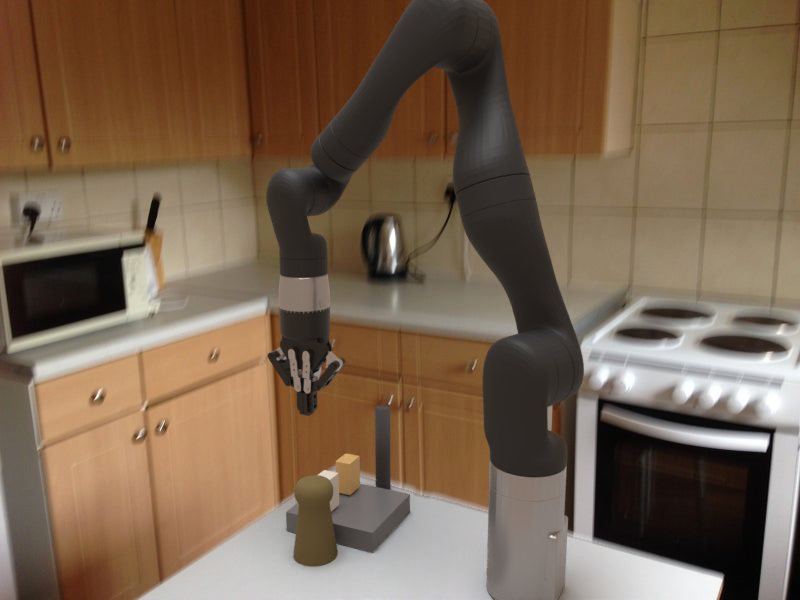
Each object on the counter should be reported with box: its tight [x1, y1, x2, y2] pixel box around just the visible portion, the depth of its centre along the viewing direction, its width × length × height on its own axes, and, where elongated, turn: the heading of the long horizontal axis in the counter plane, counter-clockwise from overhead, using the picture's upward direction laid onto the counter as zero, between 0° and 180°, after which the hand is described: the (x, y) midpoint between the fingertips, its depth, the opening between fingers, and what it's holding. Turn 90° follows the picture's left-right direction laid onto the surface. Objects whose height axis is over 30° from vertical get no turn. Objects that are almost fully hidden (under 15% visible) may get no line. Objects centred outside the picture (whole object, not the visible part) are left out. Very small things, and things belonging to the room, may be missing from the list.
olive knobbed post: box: [292, 474, 338, 567], centre depth 99 cm, size 6×6×11 cm
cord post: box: [374, 405, 392, 490], centre depth 117 cm, size 2×2×14 cm
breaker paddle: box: [335, 453, 361, 495], centre depth 111 cm, size 2×3×5 cm
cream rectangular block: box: [317, 469, 339, 512], centre depth 105 cm, size 2×3×5 cm
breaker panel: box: [285, 483, 411, 554], centre depth 108 cm, size 14×12×3 cm
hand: (307, 413), depth 112 cm, fingers closed
